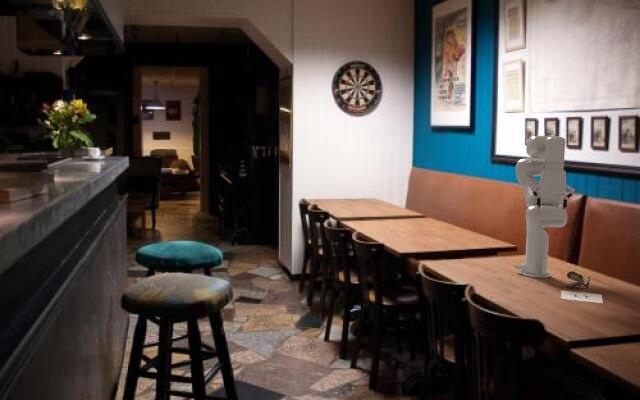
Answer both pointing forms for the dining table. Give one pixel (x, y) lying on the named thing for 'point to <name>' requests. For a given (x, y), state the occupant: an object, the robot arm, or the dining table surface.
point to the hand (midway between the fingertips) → (551, 208)
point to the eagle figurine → (577, 278)
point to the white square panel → (581, 296)
